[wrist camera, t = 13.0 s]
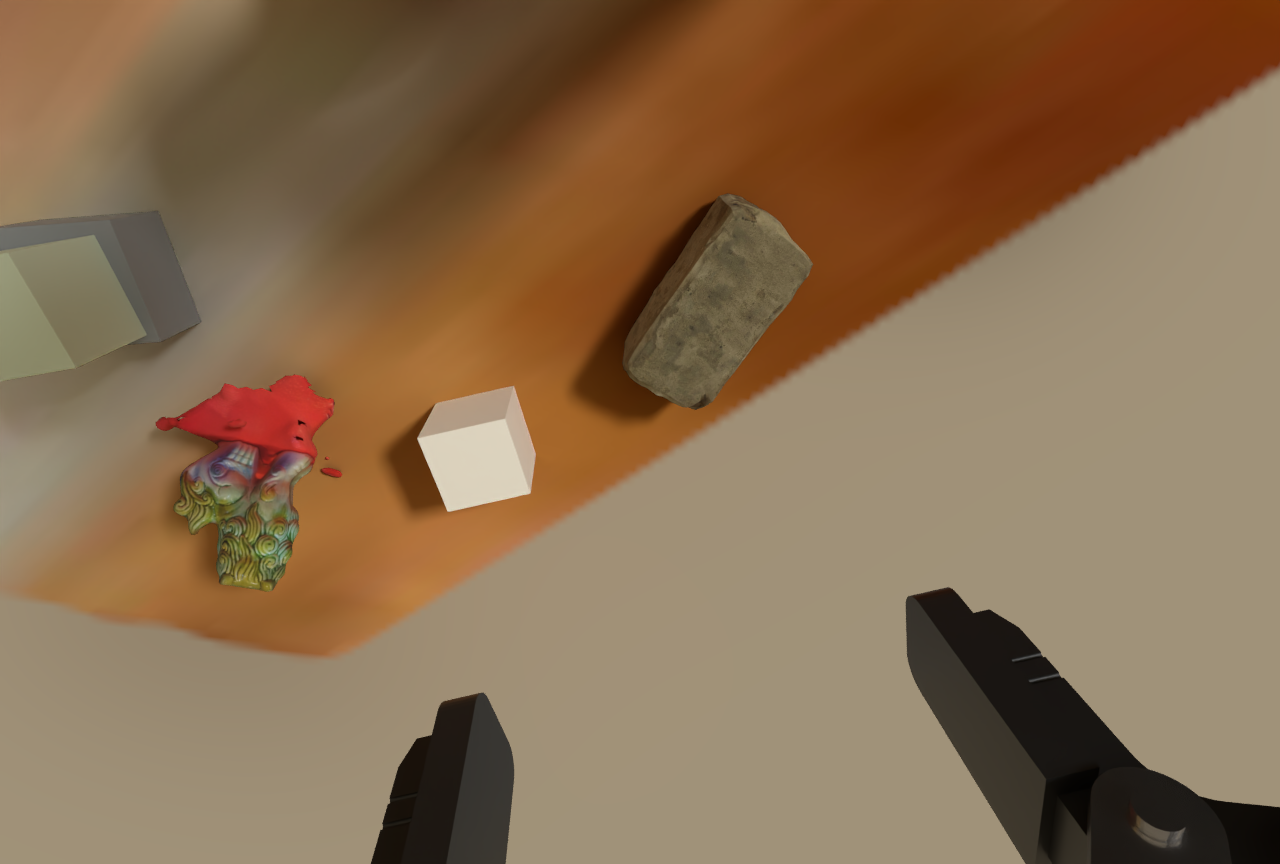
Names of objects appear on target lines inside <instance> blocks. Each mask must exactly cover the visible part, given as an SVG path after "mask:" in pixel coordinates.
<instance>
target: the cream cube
mask: <svg viewBox="0 0 1280 864" xmlns="http://www.w3.org/2000/svg"><path fill="white" fill-rule="evenodd" d="M417 439H418V441H419V444H420V446H421V449H422V451H423V453H424V456H425V458H426V461H427V463H428V465H429V468H430V470H431V473H432V475H433V477H434V480H435V482H436V485H437V487H438V489H439V492H440V494H441V497H442V499H443V501H444V504H445V506H446V509H447V511H448V512H450V511H454V510H459V509H463V508H468V507H472V506H477V505H481V504H486V503H490V502H495V501H499V500H504V499H508V498H513V497H517V496H522V495H526V494H530V493H531V485H532V478H533V471H534V463H535V456H536V454H535V450H534V447H533V444H532V441H531V438H530V435H529V432H528V429H527V426H526V423H525V419H524V416H523V413H522V410H521V407H520V404H519V401H518V398H517V395H516V391H515V388H514V386H511V387H506V388H502V389H497V390H493V391H488V392H484V393H480V394H475V395H471V396H466V397H462V398H457V399H453V400H449V401H444V402H440V403H436V404H435V406H434V408H433V410H432V412H431V414H430V415H429V417H428V419H427V421H426V423H425V425H424V427H423V429H422V430H421V432H420V434H419V436H418V438H417Z"/></svg>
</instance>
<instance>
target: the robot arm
mask: <svg viewBox="0 0 1280 864" xmlns="http://www.w3.org/2000/svg"><path fill="white" fill-rule="evenodd" d="M906 632H907V657H908V662H909V666H910V669H911V672H912V675H913V678H914V680H915V682H916V684H917V686H918V688H919V690H920V692H921V693H922V695H923V697H924V698H925V700H926V701H927V703H928V705H929V706H930V708H931V709H932V711H933V713H934V715H935V716H936V718H937V719H938V721H939V723H940V724H941V726H942V728H943V729H944V731H945V733H946V734H947V736H948V737H949V739H950V741H951V742H952V744H953V746H954V747H955V749H956V751H957V752H958V754H959V755H960V757H961V759H962V760H963V762H964V764H965V765H966V767H967V768H968V770H969V772H970V773H971V775H972V777H973V778H974V780H975V782H976V783H977V785H978V787H979V788H980V790H981V791H982V793H983V795H984V796H985V798H986V800H987V801H988V803H989V805H990V806H991V808H992V809H993V811H994V813H995V814H996V816H997V818H998V819H999V821H1000V823H1001V824H1002V826H1003V827H1004V829H1005V831H1006V832H1007V834H1008V836H1009V837H1010V839H1011V841H1012V842H1013V844H1014V845H1015V847H1016V849H1017V850H1018V852H1019V853H1020V855H1021V857H1022V859H1023V860H1024V862H1025V863H1026V864H1280V807H1272V806H1262V805H1252V804H1242V803H1232V802H1224V801H1217V800H1212V799H1208V798H1204V797H1200V796H1198V795H1197V794H1196V793H1194V792H1193V791H1192V790H1190V789H1189V788H1188V787H1186V786H1185V785H1183V784H1181V783H1180V782H1178V781H1176V780H1174V779H1172V778H1170V777H1168V776H1166V775H1164V774H1161V773H1158V772H1155V771H1152V770H1148V769H1147V768H1146V767H1145V766H1143V765H1142V764H1141V763H1140V762H1139V761H1138V760H1137V759H1136V758H1135V757H1134V756H1133V755H1132V754H1131V753H1130V752H1129V751H1128V750H1127V748H1126V747H1125V746H1124V745H1123V744H1122V743H1121V742H1120V741H1119V739H1118V738H1117V737H1116V736H1115V735H1114V734H1113V733H1112V731H1111V730H1110V729H1109V728H1108V727H1107V726H1106V725H1105V724H1104V722H1103V721H1102V720H1101V719H1100V718H1099V717H1098V716H1097V715H1096V714H1095V712H1094V711H1093V710H1092V709H1091V708H1090V707H1089V706H1088V704H1087V703H1086V702H1085V701H1084V700H1083V699H1082V698H1081V697H1080V695H1079V694H1078V693H1077V692H1076V691H1075V690H1074V689H1073V688H1072V686H1071V685H1070V684H1069V683H1068V682H1067V681H1066V680H1065V679H1064V678H1061V677H1060V675H1059V672H1058V671H1057V670H1056V669H1055V668H1054V666H1053V665H1052V664H1051V663H1050V662H1049V661H1048V660H1047V658H1046V657H1043V656H1042V655H1041V652H1040V651H1039V649H1038V648H1037V647H1036V646H1035V645H1034V644H1033V643H1032V642H1031V641H1030V639H1029V638H1028V637H1027V636H1026V635H1025V634H1024V633H1023V631H1022V630H1021V629H1020V628H1019V627H1017V626H1016V625H1014V624H1012V623H1011V622H1009V621H1007V620H1006V619H1004V618H1002V617H1001V616H999V615H998V614H996V613H994V612H993V611H991V610H985V611H980V612H976V613H973V612H972V611H971V610H970V609H969V607H968V606H967V605H966V604H965V602H964V601H963V600H962V599H961V598H960V596H959V595H958V594H957V593H956V592H955V591H954V590H953V589H951V588H948V587H947V588H943V589H939V590H934V591H930V592H925V593H921V594H917V595H912V596H908V597H907V599H906ZM513 784H514V763H513V756H512V751H511V747H510V744H509V742H508V740H507V738H506V736H505V733H504V731H503V729H502V727H501V725H500V723H499V721H498V719H497V716H496V714H495V712H494V710H493V708H492V706H491V704H490V702H489V700H488V698H487V696H486V695H485V694H484V693H478V694H474V695H470V696H465V697H461V698H456V699H452V700H448V701H444V702H442V703H441V705H440V707H439V709H438V712H437V716H436V721H435V725H434V729H433V733H432V735H431V736H426V737H422V738H418V739H416V741H415V742H414V744H413V746H412V747H411V749H410V750H409V752H408V753H407V755H406V756H405V758H404V760H403V761H402V763H401V764H400V766H399V767H398V771H397V774H396V778H395V781H394V784H393V788H392V792H391V795H390V804H388V806H387V809H386V813H385V816H384V820H383V823H382V824H383V829H382V830H380V834H379V837H378V841H377V844H376V848H375V851H374V855H373V858H372V862H371V864H505V863H506V853H507V843H508V833H509V823H510V813H511V804H512V793H513Z"/></svg>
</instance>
